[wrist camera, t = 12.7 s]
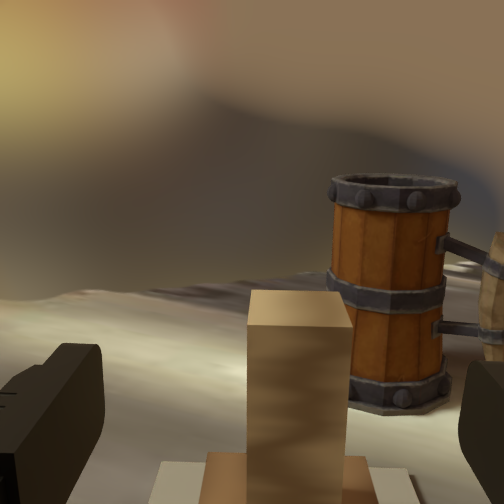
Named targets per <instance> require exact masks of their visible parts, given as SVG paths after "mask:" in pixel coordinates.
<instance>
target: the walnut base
mask: <svg viewBox="0 0 504 504" xmlns="http://www.w3.org/2000/svg"><path fill="white" fill-rule="evenodd" d="M246 480H247V453H222V452H208V454H207V459H206V465H205V470H204V476H203V481H202V486H201V492H200V497H199V503H198V504H246ZM341 504H379V503H378V499H377V496H376V492H375V489H374V485H373V482H372V478H371V475H370V471H369V468H368V465H367V461H366V458H365V457H364V456H344V471H343V486H342V501H341Z"/></svg>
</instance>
